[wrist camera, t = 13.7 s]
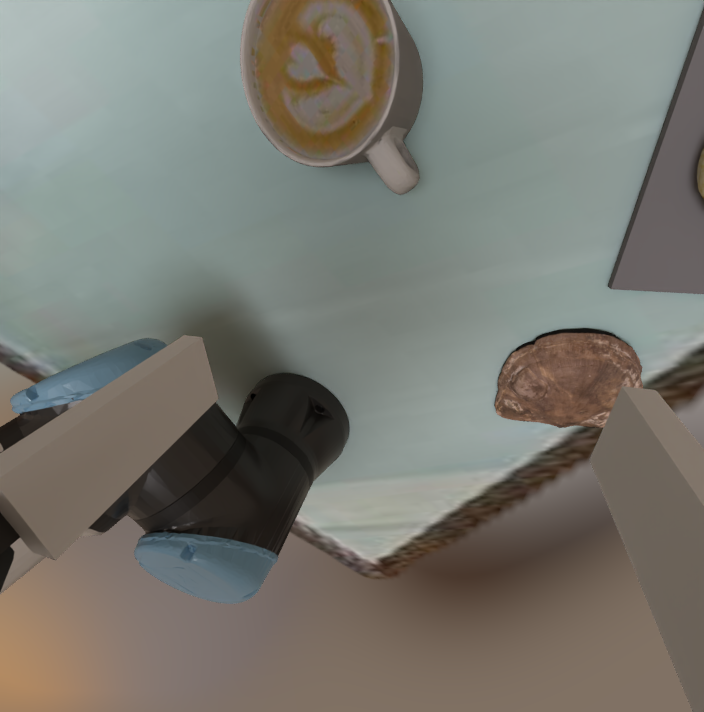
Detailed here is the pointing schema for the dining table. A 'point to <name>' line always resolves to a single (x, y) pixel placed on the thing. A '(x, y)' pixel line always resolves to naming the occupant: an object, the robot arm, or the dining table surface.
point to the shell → (567, 378)
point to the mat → (671, 197)
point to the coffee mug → (334, 83)
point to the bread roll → (701, 174)
